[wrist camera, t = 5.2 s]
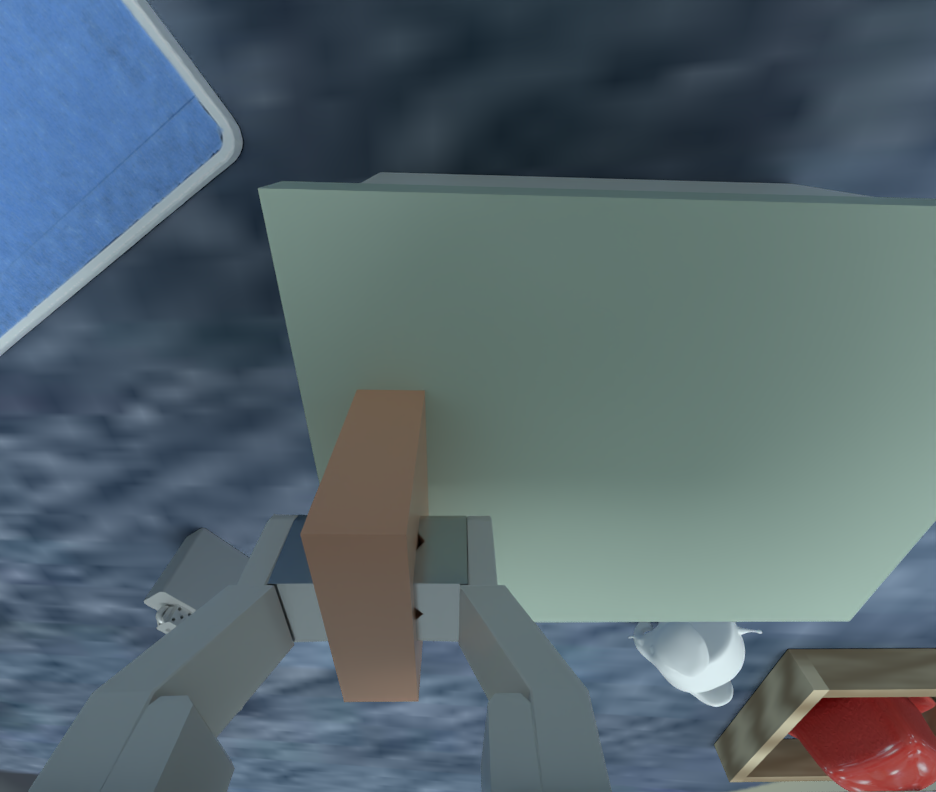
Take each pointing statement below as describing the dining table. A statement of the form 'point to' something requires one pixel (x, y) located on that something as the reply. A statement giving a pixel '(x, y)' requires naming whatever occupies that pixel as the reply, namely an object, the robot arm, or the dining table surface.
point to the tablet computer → (93, 144)
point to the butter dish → (871, 742)
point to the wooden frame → (799, 689)
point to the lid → (607, 400)
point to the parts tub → (601, 184)
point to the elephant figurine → (695, 656)
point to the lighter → (194, 578)
